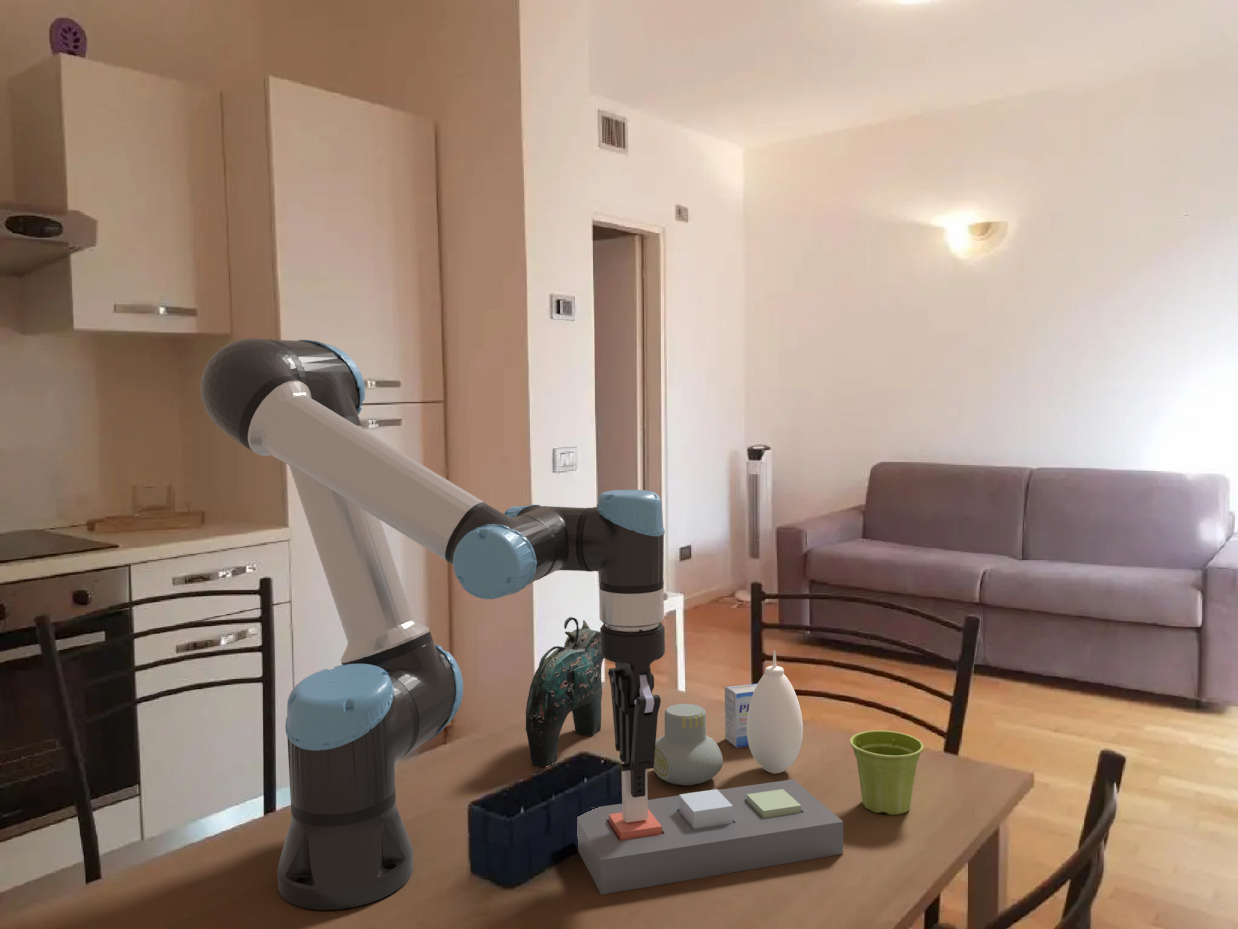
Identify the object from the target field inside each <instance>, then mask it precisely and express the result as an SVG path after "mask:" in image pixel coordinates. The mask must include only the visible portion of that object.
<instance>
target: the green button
mask: <svg viewBox="0 0 1238 929" xmlns="http://www.w3.org/2000/svg"><path fill="white" fill-rule="evenodd" d="M747 804H748V805H749V806H750V807H751V808H752V809H753V810H754V811H755V812H756V813H757V814H758V815H759V816H760V817H761V818H762V819H764V818H770V817H777V816H783V815H790V814H797V813H801V805H800V804H799V803H798V802H797V801H796V800H795V799H793V798H792V797H791V796H790V795H789V794H788V793H787V792H786V791H785V790H783V789H780V790H773V791H766V792H759V793H752V794H747Z"/></svg>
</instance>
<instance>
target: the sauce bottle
mask: <svg viewBox="0 0 1238 929" xmlns="http://www.w3.org/2000/svg"><path fill="white" fill-rule="evenodd" d="M784 672H785V670H784V668H783V667H782V666H778V665H777V654H776V650H775V649H774V650H773V653H772V665H768V666H767V667H765V669H764V674H762V676H761V678H760V679H759V681H758V682H757V683H756V684H757V686H756V688H755V690H754V693H753V695H752V698H751V702H750V705H749V710H748V715H747V739H748V744H749V747H748V748H749V751H750V753H751V755H752V757H753V758H754V761H755V762H756V763H757V765H759V766H760V767H761V768H762V769H763V770H764V771H766V772H768V773H770V774H775V775H777V773H778V774H781V773H782V772H784V771H785V772H786V770H787V769H788V768H789V767H790V766H792V765H793V764H795V761H796V759H797V758H798V757H799V756H798V755H799V753H800V751H801V747H802V745H803V734H804V730H803V729H804V725H803V717H802V716H803V714H802V710H801V706H800V703H799V702H800V701H799V699H798V697H797V694H796V692H795V689H794V686H793V685H792V683H791V682H790V680H789V678H788V677H787V676H786V675H785V674H784Z"/></svg>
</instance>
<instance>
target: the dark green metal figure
mask: <svg viewBox="0 0 1238 929" xmlns="http://www.w3.org/2000/svg"><path fill="white" fill-rule="evenodd" d="M571 621H573V622H574V623H575V625H576V626H575V627H576V629H574V630H572V631H564V633H565V635H567V637H566V639H565V642H564V646H560V645H556V646H555V645H554V646H553V647H551V648H549V649H548V650H547V651H545V653H544V654H543V656H542V657H541V659H540V661H539V663H538V667H537V669H536V670H535V673H534V674H533V678H532V680H531V683H530V686H529V690H528V697H527V701H526V706H525V731H526V737H527V743H528V746H529V754H530V755H529V756H530V764H531V766H533V765H534V766H533V767H537V766H539V767H538V768H543V767H546V766H549V765H552V763H554V762H555V763H557V760H558V747H559V740H560V735H561V731H562V729H563V726H564V724H565V721H566V719H567V717H568V715H569V714H570V713H572V719H573V725H574V731H575V733H576V734H578V735H582V736H591V737H593V736H594V735H595V734H597V733H598V732H599V731H601V728H602V696H603V685H602V683H603V682H602V666H603V662H604V659H605V658H604V657H603V656H602V655H601V642H600V630H599V631H598V630H593V629H591V627H590V626H589V625H588V624H587V622H586V621H585V620H584V619H583V620H582V627H581V628H579V621H578V619H577V618H576V617H574V616H573V617H572V616H569V617H568V618H567V619H566V620H564V624H563V627H564V629H565V630H566V629H568V628H567V627H568V625H569V623H570V622H571ZM551 652H552V653H551ZM555 763H554V764H555ZM552 766H553V765H552Z"/></svg>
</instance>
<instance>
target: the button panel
mask: <svg viewBox="0 0 1238 929" xmlns="http://www.w3.org/2000/svg"><path fill="white" fill-rule="evenodd" d="M780 789H783V790H785V791H786V792H787V793H788V794H789V795H790V796H791V797H792V798H793V799H795V800H796V801H797V802H798V803H799V804H800V805H801V813H797V814H790V815H783V816H777V817H770V818H764V819H762V818H761V817H760V816H759V815H758V814H757V813H756V812H755V811H754V810H753V809H752V808H751V807H750V806H749V805H748V804H747V794H752V793H759V792H766V791H773V790H780ZM717 790H718V791H719V792H720V793H721V794H722V795H723V796H724V797H725V798H726V799H727V800H728V801H729V802H730V803H731V804H732V805H733V823H731V824H725V825H718V826H712V827H705V828H699V829H692V828H691V827H690V826H689V825H688V824H687V822H686V821H685V820H684V819H683V817H682V816H681V815H680V814H679V795H674V796H668V797H667V796H665V797H660V798H659V797H658V798H652V799H648V809H649V810H650V811H651V813H652V814H653V815H654V817H655V818H656V819H657V821H658V822H659V823H660V825H661V826H662V834H660V835H653V836H646V837H640V838H633V839H627V840H620V841H619V840H618V838H617V837H616V835H615V834H614V832H613V830H612V829H611V827H610V826H609V814H614V813H621V812H622V803H617V804H611V805H603V806H597V807H598V808H595V807H594V808H595V809H592V810H591V811H588V812H586V813H584V814H582V815H580V816H578V817H577V837H578V838H577V839H578V850H577V851H578V853H579V855H580V857H581V859H582V860H583V863H584V864H585V866H586V869H587V870H588V872H589V874H590V875H591V878H592V880H593V882H594V884H595V886H596V888H597V889H598V891H599V894H600V895H606V894H607V895H609V894H613V893H619V892H626V891H631V890H635V889H636V890H638V889H643V888H649V887H655V886H660V885H665V884H672V883H677V882H683V881H684V882H686V881H690V880H695V879H696V880H697V879H702V878H708V877H709V878H710V877H714V876H721V875H725V874H732V873H737V872H744V871H751V870H755V869H756V870H757V869H760V868H761V869H762V868H767V867H772V866H779V865H786V864H790V863H797V862H803V861H809V860H813V859H814V860H815V859H821V858H826V857H833V856H838V855H843V854H844V821H843V820H842V818H839V816H837V815H836V814H835V813H834V812H833V811H831V810H830V809H829V808H828V807H827V806H826V805H824V804H823V803H822V802H821V801H820V800H818V798H816V797H815V796H814V795H812V793H810V792H809V791H808V790H807V789H806V788H804V787H803V785H801V784H800V783H799V782H798V781H796V780H795V779H787V780H786V779H785V780H779V781H773V782H765V783H764V782H763V783H758V784H751V785H743V786H737V787H729V788H723V789H717Z"/></svg>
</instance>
